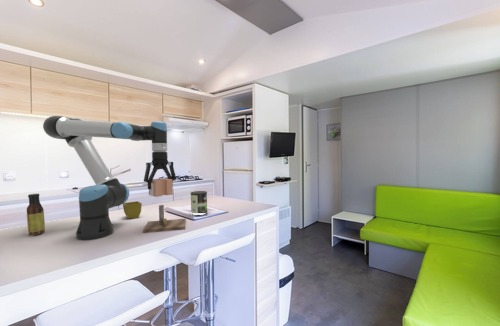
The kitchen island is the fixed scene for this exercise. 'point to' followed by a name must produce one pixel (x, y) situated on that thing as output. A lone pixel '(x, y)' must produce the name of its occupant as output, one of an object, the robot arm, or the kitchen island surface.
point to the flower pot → (132, 209)
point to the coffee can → (199, 202)
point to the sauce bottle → (35, 215)
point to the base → (165, 228)
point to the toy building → (162, 187)
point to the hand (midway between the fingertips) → (160, 194)
